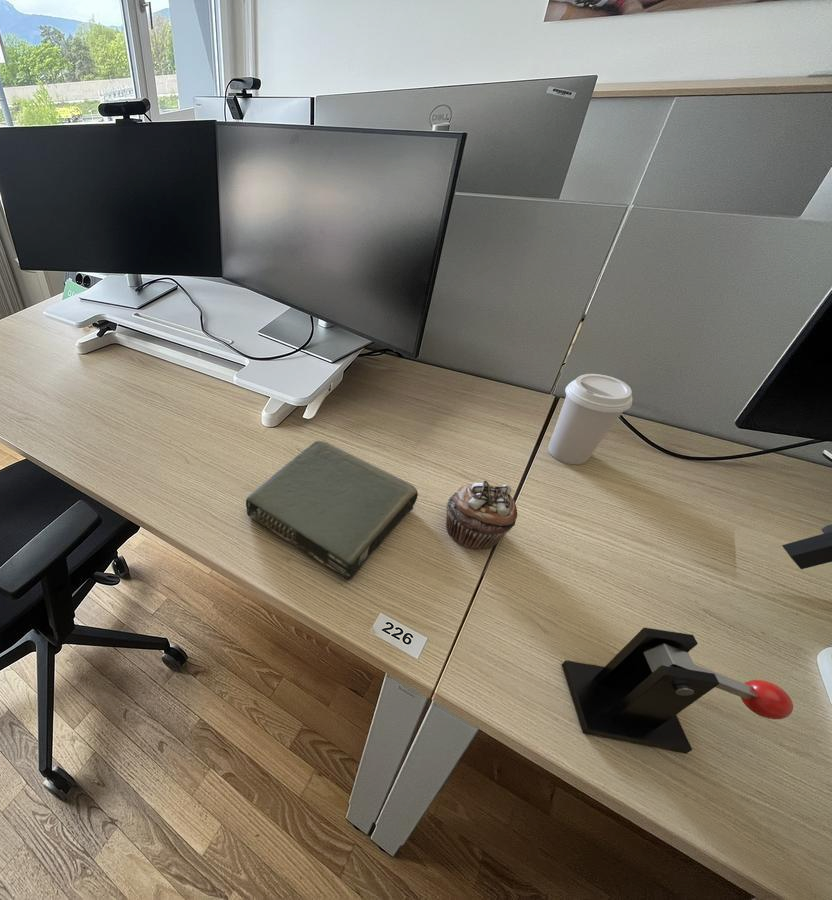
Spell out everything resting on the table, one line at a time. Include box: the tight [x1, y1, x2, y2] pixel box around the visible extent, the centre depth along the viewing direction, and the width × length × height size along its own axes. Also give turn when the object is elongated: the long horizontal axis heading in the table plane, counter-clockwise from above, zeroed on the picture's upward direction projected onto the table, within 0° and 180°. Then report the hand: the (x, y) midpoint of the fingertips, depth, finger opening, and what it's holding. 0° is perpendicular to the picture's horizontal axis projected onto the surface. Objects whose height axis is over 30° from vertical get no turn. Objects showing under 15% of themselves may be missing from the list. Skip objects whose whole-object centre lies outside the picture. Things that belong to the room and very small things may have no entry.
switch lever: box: [643, 643, 794, 720], centre depth 47 cm, size 14×4×4 cm, turn 78°
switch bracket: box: [561, 627, 720, 754], centre depth 50 cm, size 10×8×13 cm
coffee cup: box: [547, 373, 633, 465], centre depth 83 cm, size 10×10×15 cm
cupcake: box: [445, 480, 518, 551], centre depth 72 cm, size 10×10×10 cm
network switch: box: [245, 440, 419, 581], centre depth 79 cm, size 23×24×5 cm
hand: (791, 557), depth 49 cm, fingers closed
